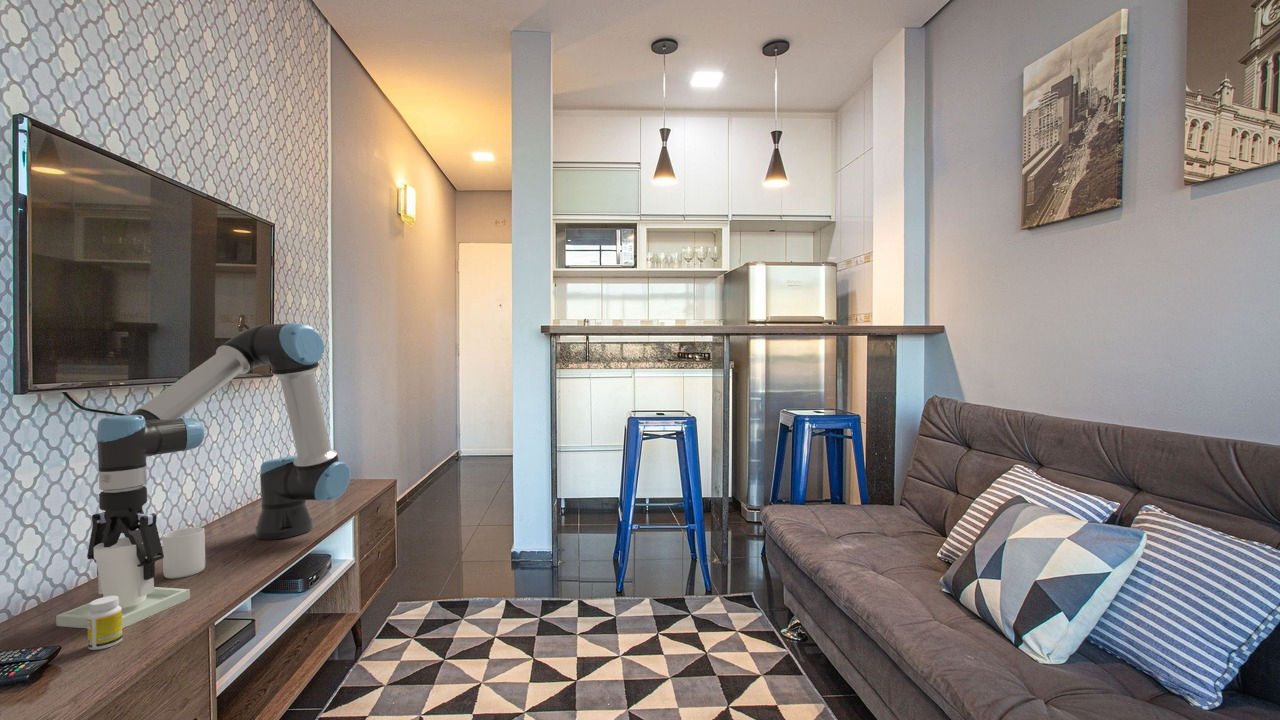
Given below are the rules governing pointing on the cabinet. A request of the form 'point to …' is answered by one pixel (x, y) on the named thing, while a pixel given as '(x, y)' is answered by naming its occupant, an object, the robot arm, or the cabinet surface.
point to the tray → (129, 608)
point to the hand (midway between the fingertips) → (126, 592)
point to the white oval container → (183, 552)
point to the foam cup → (119, 571)
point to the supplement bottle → (104, 623)
